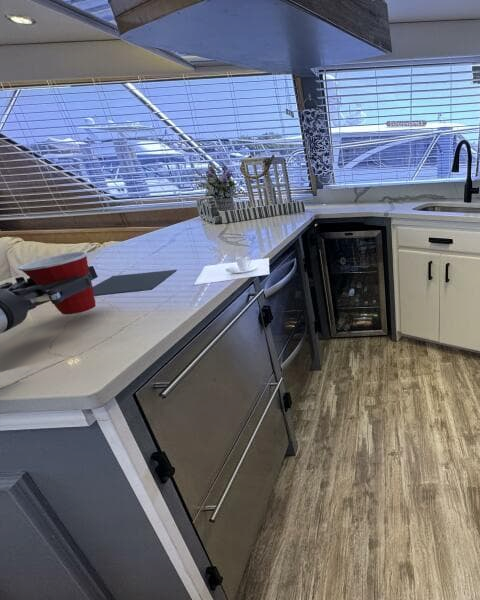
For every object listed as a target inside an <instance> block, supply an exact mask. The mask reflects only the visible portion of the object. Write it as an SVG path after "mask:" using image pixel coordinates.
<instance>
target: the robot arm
mask: <svg viewBox="0 0 480 600" xmlns="http://www.w3.org/2000/svg"><path fill="white" fill-rule="evenodd" d="M88 269H89V273H88V274H86V275H81V276H79V275H74V276H73V277H69V278H65V279H62V280H59V281H56V282H52V283H49V284H46V285H37V284H36V283H35V282H34V281H33V280H32V279H31V278H30V277H28V278H26V279H25V277H24V276H18V277H15V278H14V280H15V283H13V282H12V281H10V282H9V281H7V282H5V283H2V284H0V335H1V334H4V333H5V332H8V331H9V330H12V329H14V328H15V327H17V326H19V325H21V324H22V323H23V322H24V321H25V320H26V318H27V316H28V313H29V311H30V310H34V309H36V308H37V307H38V306H42V305H44V304H46V303H49V302H51V303H52V305H54V304H58V303H60V302H62V301H63V300H64V299H66V298H68V297H70V296H72V295H74V294H76V293H78V292H80V291H83V290H85V289H87V288H89V287H91V286H92V287H93V284H92V285H91V283H90V281H89V280H91V281H94V280H95V279H97V278H99V276H98V273H97V271H96V269H95V267H94V266H93V265H88Z"/></svg>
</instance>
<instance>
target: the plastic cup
mask: <svg viewBox="0 0 480 600" xmlns="http://www.w3.org/2000/svg"><path fill="white" fill-rule="evenodd" d="M88 267H89V263H88V252H87V251H74V252H67V253H61V254H56V255H51V256H47V257H44V258H39V259H36V260H32V261H30V262H26V263H23V264H21V265H18V266H17V268H16V269H17V270H18V271H21V272H23V273H24V274H25V275H26V276H28V278H31V279H32V280H33V281H34V282H35V283H36V284H37V285H46V284H49V283H52V282H56V281H59V280H62V279H65V278H69V277H73V276H74V275H79V276H81V275H86V274H88V273H89V269H88ZM89 281H90V283H91V285H92V286H91V287H89V288H87V289H85V290H83V291H80V292H78V293H76V294H74V295H72V296H70V297H68V298H66V299H64V300H63V301H62V302H60V303H58V304H53V305H54V307H55V308H56V309H57V311H58V312H60V314H61V315H68V316H69V315H76V314H81V313H84V312H88V311H89V310H92V309H94V308H95V307H96V305H97V304H96V298H95V296H94V293H93V292H94V291H93V287H94V286H93V283H92V280H89Z"/></svg>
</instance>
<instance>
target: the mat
mask: <svg viewBox="0 0 480 600" xmlns="http://www.w3.org/2000/svg"><path fill="white" fill-rule="evenodd" d="M177 271H178V269H170V270H160V271H159V270H158V271H149V272H140V273H139V272H138V273H131V274H129V273H128V274H120V275H119V274H118V275H112V276H110V277H108V278H106V279H105V280H103V281H101V282H99V283H97V284H95V285H94V286H92V287H93V291H94V292H93V293H94V297H96V296H105V295H114V294H115V295H116V294H122V293H123V294H124V293H131V292H133V293H134V292H140V291H141V292H142V291H151V290H153V289H155V288H156V287H157V286H159V285H160V284H161V283H163V282H164V281H165V280H166V279H168V278H169V277H170V276H171V275H173V274H174V273H175V272H177Z"/></svg>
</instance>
